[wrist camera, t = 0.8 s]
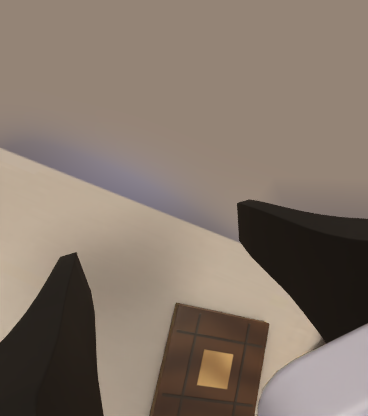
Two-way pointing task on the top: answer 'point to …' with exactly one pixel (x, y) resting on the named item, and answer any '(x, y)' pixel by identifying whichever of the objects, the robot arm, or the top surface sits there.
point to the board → (210, 364)
